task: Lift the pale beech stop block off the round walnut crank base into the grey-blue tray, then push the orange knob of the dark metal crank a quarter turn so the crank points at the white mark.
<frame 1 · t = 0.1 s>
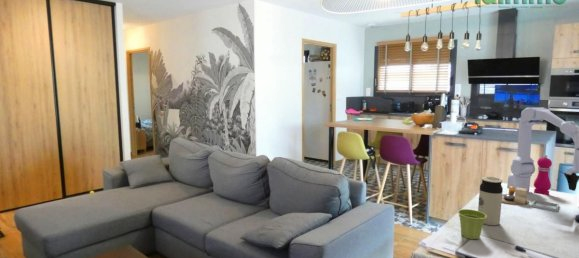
hand: (578, 189, 157), 10 cm above the table, tool pointing down, fingers open, 7 cm apart
crank: (510, 193, 171), point 4 cm above the table, hinge at 0.0°
plant pot: (470, 236, 133), on the table
tray: (544, 209, 161), on the table
crank base: (508, 202, 170), on the table
stop block: (520, 201, 167), point 1 cm above the table, touching crank base
pepper mill: (541, 193, 184), on the table
travel mug: (488, 222, 146), on the table
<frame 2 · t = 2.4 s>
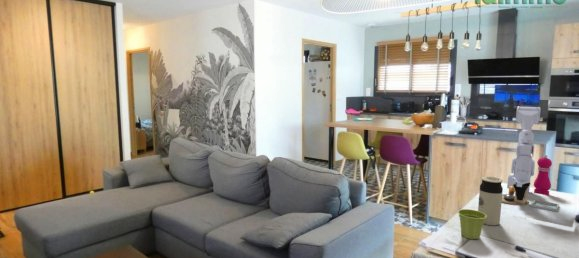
hand: (520, 198, 166), 3 cm above the table, tool pointing down, fingers closed on stop block, 4 cm apart
stop block: (520, 201, 167), point 1 cm above the table, touching crank base, gripper
everything else where it was.
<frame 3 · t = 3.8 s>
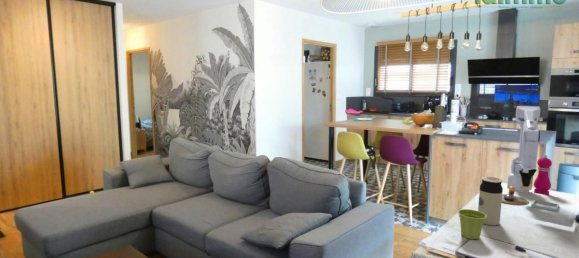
hand: (526, 185, 164), 10 cm above the table, tool pointing down, fingers closed on stop block, 4 cm apart
stop block: (526, 188, 164), point 8 cm above the table, touching gripper
everything else where it was.
when the fingers open (4 cm above the table, at t = 5.5 s): stop block drops 2 cm, resting on tray.
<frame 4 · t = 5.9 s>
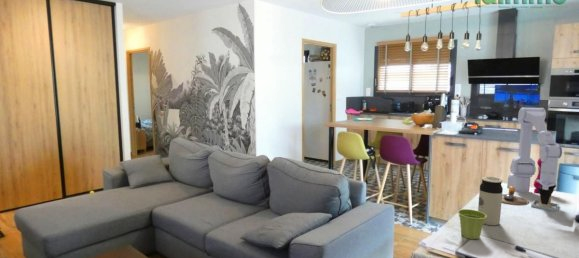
hand: (545, 201, 160), 4 cm above the table, tool pointing down, fingers open, 7 cm apart
stop block: (544, 208, 161), resting on tray
everything else where it was.
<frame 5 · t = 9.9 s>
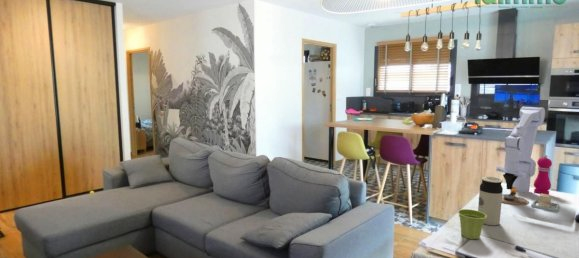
hand: (509, 189, 174), 5 cm above the table, tool pointing down, fingers closed, pressing on crank
crank: (511, 193, 171), point 4 cm above the table, hinge at -6.9°, touching gripper
everything else where it was.
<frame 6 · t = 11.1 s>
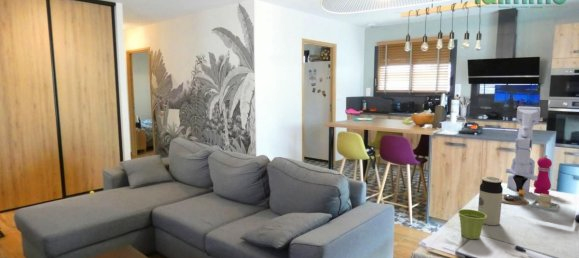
hand: (519, 191, 171), 5 cm above the table, tool pointing down, fingers closed, pressing on crank
crank: (514, 194, 169), point 4 cm above the table, hinge at -46.1°, touching gripper
everything else where it was.
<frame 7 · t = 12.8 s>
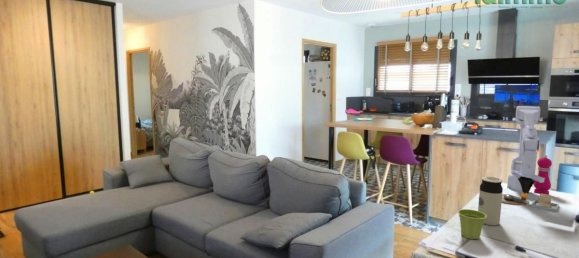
hand: (525, 193, 167), 5 cm above the table, tool pointing down, fingers closed
crank: (515, 195, 167), point 4 cm above the table, hinge at -97.4°
everything else where it was.
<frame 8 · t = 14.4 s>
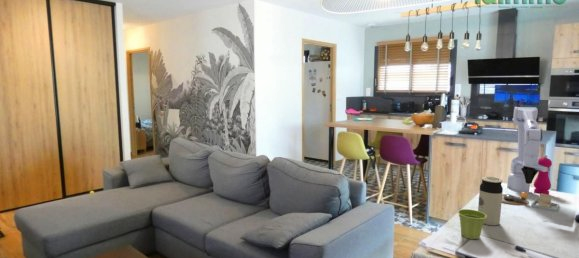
hand: (528, 183, 168), 9 cm above the table, tool pointing down, fingers closed
nothing on the table moved.
at the end: crank at -98° (first picture: +0°); stop block 0.2 cm off-centre on the tray, point 0.5 cm above the tray's base; stop block tilted 0° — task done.
